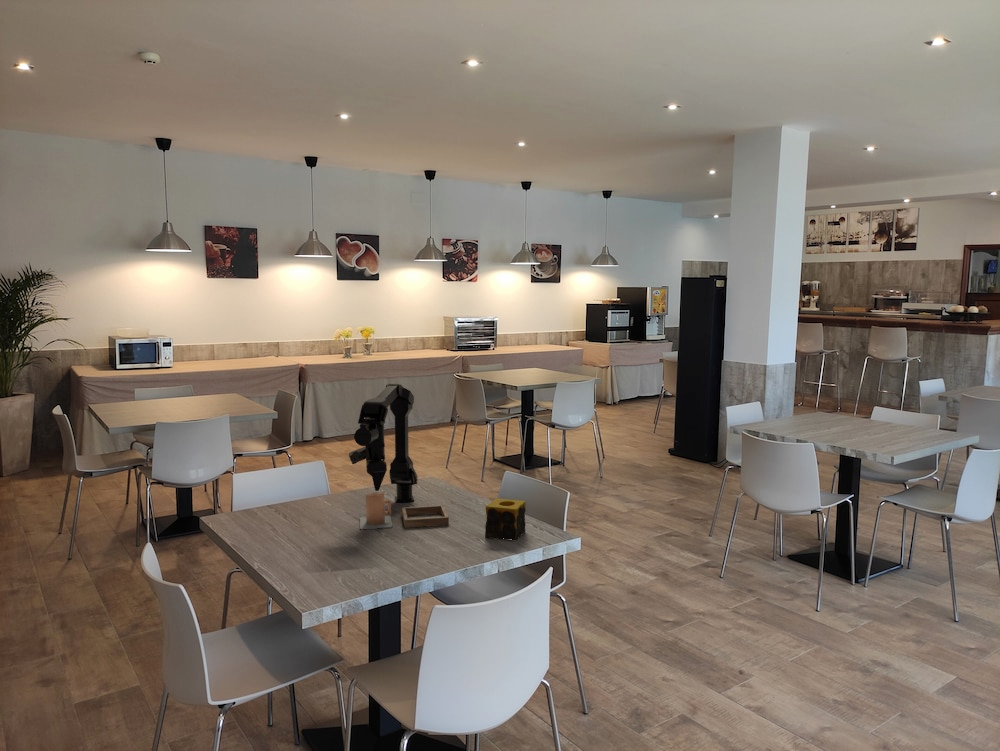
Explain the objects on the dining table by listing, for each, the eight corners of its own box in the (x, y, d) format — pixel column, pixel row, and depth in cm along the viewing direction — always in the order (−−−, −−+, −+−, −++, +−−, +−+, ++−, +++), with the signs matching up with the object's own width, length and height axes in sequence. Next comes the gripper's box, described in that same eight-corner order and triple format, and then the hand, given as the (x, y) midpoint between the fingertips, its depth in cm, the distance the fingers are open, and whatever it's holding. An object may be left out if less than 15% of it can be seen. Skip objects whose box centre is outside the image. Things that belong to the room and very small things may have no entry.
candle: (484, 538, 219) (484, 506, 218) (495, 528, 229) (495, 497, 228) (516, 541, 216) (516, 509, 215) (526, 531, 226) (526, 500, 225)
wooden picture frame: (402, 514, 243) (402, 507, 243) (443, 512, 246) (443, 505, 246) (404, 527, 229) (404, 520, 229) (448, 524, 232) (448, 517, 232)
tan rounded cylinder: (366, 519, 237) (365, 492, 236) (390, 517, 238) (390, 491, 237) (366, 525, 231) (365, 497, 230) (391, 523, 233) (390, 496, 232)
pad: (359, 518, 239) (359, 517, 239) (390, 516, 241) (390, 515, 241) (360, 529, 228) (360, 528, 228) (392, 527, 230) (392, 526, 230)
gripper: (350, 435, 240) (351, 481, 242) (349, 446, 222) (351, 496, 223) (383, 433, 242) (385, 479, 244) (386, 445, 224) (387, 494, 226)
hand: (376, 486), depth 234 cm, fingers open, 9 cm apart
